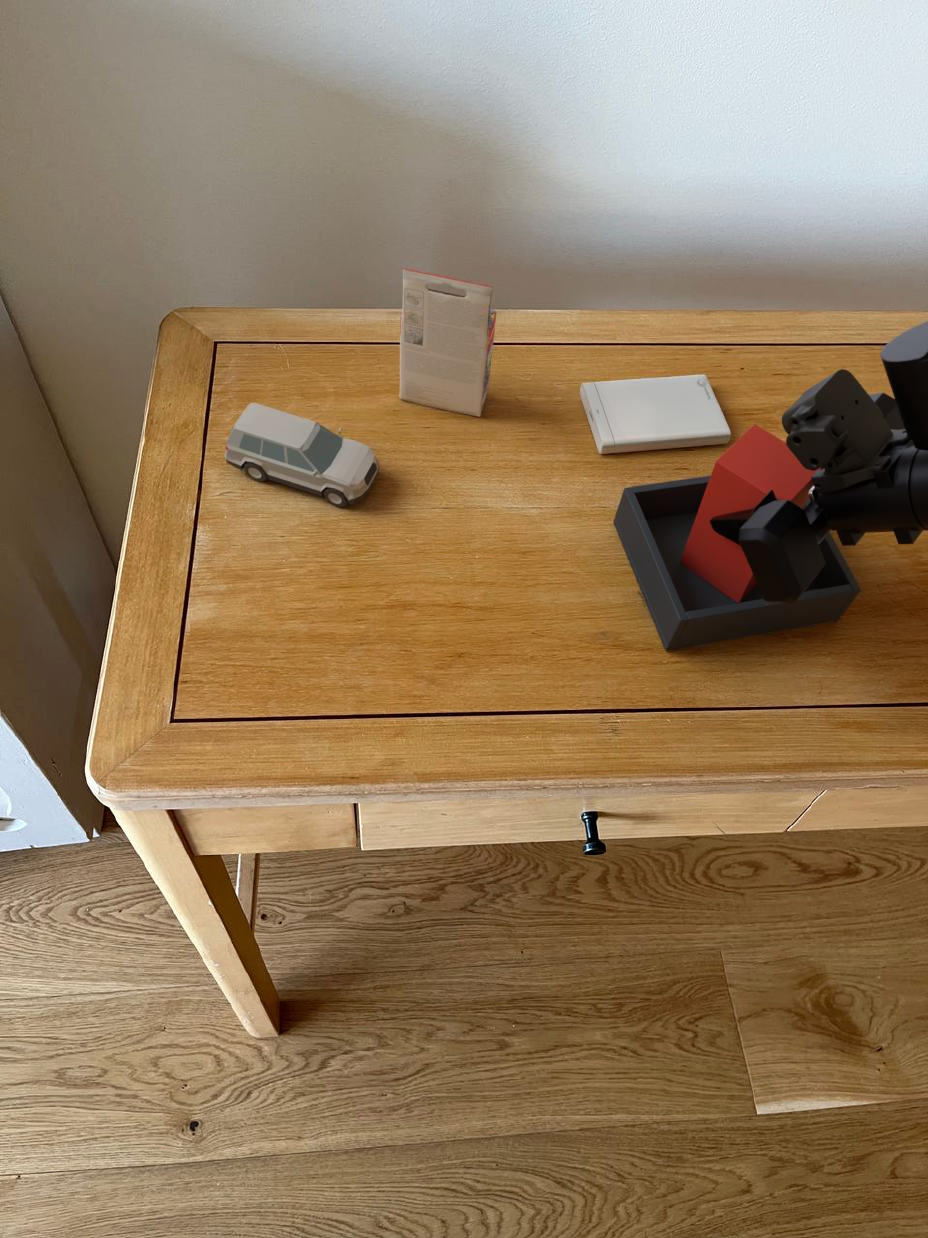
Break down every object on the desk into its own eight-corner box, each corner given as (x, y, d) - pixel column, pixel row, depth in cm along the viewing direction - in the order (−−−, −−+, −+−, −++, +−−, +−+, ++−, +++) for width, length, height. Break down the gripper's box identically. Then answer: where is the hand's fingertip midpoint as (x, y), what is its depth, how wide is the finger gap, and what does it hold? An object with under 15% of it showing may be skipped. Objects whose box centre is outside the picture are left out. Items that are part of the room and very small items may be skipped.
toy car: (360, 517, 79) (358, 478, 75) (224, 473, 81) (215, 433, 77) (385, 470, 82) (385, 430, 78) (253, 429, 84) (246, 388, 80)
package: (772, 567, 78) (824, 465, 67) (738, 604, 76) (786, 505, 65) (713, 528, 80) (754, 423, 69) (679, 562, 78) (715, 460, 67)
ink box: (408, 375, 89) (411, 241, 77) (488, 393, 89) (504, 261, 76) (397, 402, 87) (399, 268, 75) (480, 420, 87) (495, 288, 74)
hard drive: (705, 372, 90) (581, 380, 88) (732, 433, 86) (603, 443, 84) (700, 385, 91) (578, 393, 89) (726, 446, 87) (599, 456, 85)
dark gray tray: (773, 498, 84) (791, 463, 80) (838, 621, 77) (862, 589, 73) (612, 522, 81) (623, 487, 77) (665, 651, 74) (680, 620, 70)
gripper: (957, 306, 62) (757, 351, 74) (822, 457, 53) (624, 479, 66) (999, 450, 66) (804, 470, 78) (881, 611, 58) (684, 604, 70)
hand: (734, 501), depth 73 cm, fingers closed on package, 6 cm apart
